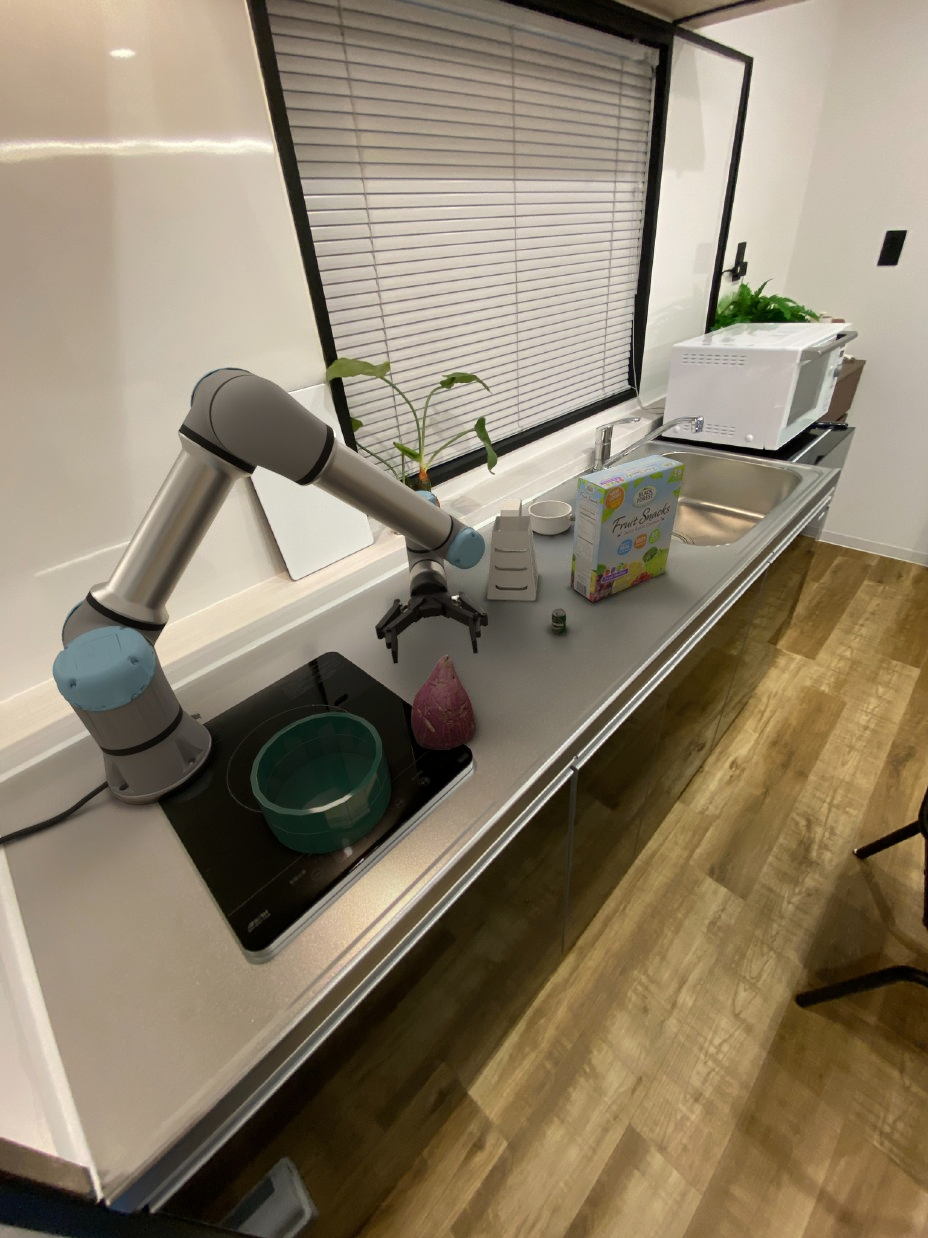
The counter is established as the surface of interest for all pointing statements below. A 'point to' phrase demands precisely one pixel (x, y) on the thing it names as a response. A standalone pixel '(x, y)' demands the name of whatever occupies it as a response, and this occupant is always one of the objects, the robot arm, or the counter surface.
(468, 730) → the vegetable
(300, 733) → the pot
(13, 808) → the counter surface
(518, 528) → the grater
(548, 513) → the saucepan
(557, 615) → the beer can
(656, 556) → the snack box
